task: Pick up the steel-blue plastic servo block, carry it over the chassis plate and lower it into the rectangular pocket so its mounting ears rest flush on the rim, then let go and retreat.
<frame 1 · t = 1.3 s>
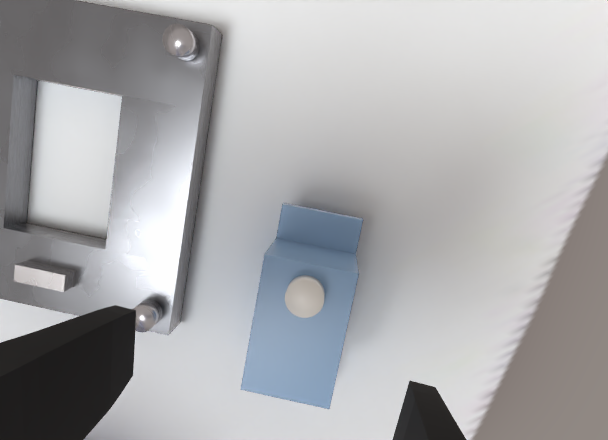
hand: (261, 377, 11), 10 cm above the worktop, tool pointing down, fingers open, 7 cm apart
chassis: (80, 163, 21), on the worktop
servo: (307, 290, 21), on the worktop
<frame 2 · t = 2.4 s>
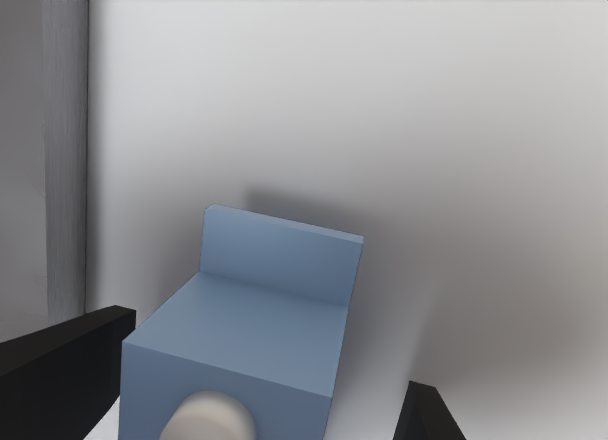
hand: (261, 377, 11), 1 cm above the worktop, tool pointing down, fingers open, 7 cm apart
servo: (276, 344, 12), on the worktop
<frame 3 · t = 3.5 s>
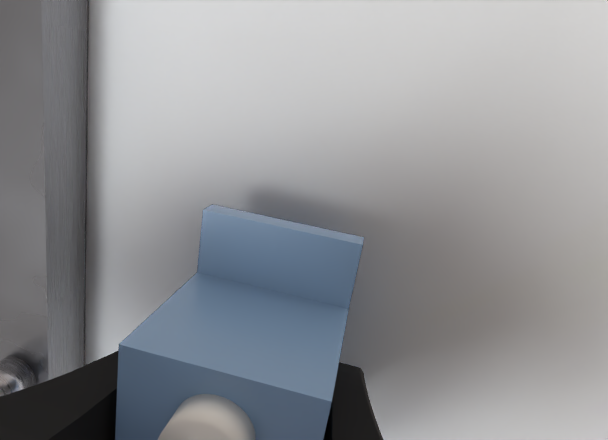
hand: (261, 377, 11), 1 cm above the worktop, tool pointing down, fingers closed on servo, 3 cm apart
servo: (275, 346, 12), on the worktop, touching gripper
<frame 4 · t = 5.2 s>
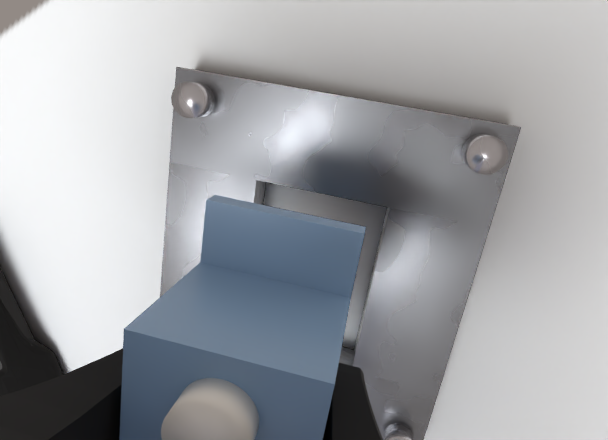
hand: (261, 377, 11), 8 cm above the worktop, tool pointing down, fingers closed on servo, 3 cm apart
chassis: (312, 265, 18), on the worktop
electric trimmer: (31, 328, 23), on the worktop
servo: (277, 338, 12), point 6 cm above the worktop, touching gripper
when the fingers open (2 cm above the worktop, at t = 6.8 s): servo stays where it is, resting on chassis.
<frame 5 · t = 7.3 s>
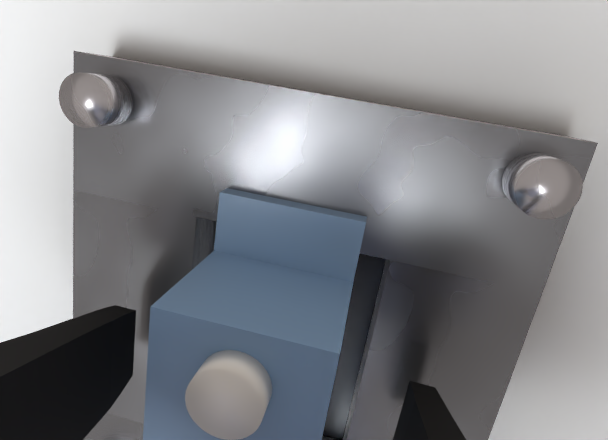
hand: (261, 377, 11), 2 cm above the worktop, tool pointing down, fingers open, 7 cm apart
chassis: (283, 328, 13), on the worktop
servo: (284, 323, 13), resting on chassis
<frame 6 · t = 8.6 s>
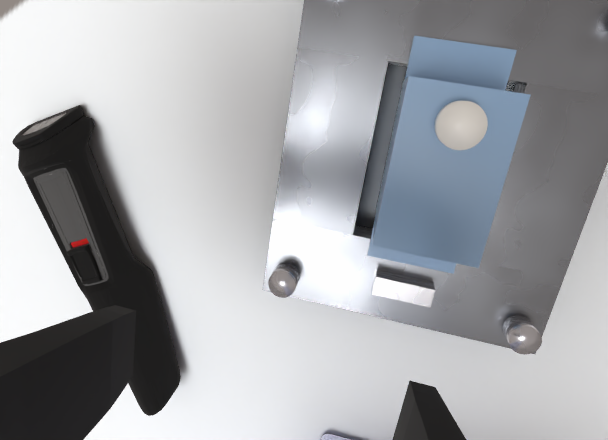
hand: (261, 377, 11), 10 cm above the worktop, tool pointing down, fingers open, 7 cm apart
chassis: (429, 159, 18), on the worktop
electric trimmer: (125, 249, 23), on the worktop
servo: (430, 155, 18), resting on chassis
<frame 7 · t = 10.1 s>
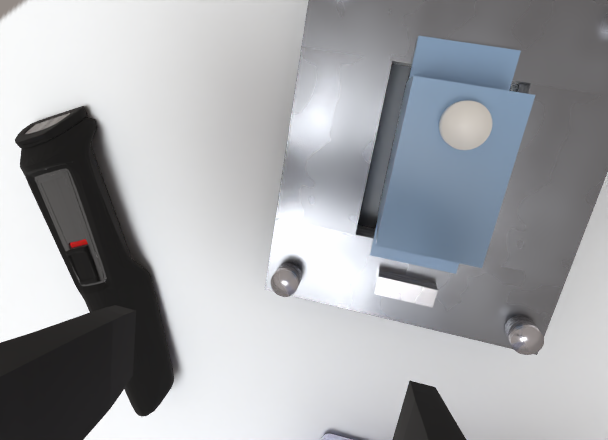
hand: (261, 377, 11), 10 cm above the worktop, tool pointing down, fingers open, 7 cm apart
chassis: (432, 159, 18), on the worktop
electric trimmer: (123, 250, 23), on the worktop
servo: (433, 155, 18), resting on chassis
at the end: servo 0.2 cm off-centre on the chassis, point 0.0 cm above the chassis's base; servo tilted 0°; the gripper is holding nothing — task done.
